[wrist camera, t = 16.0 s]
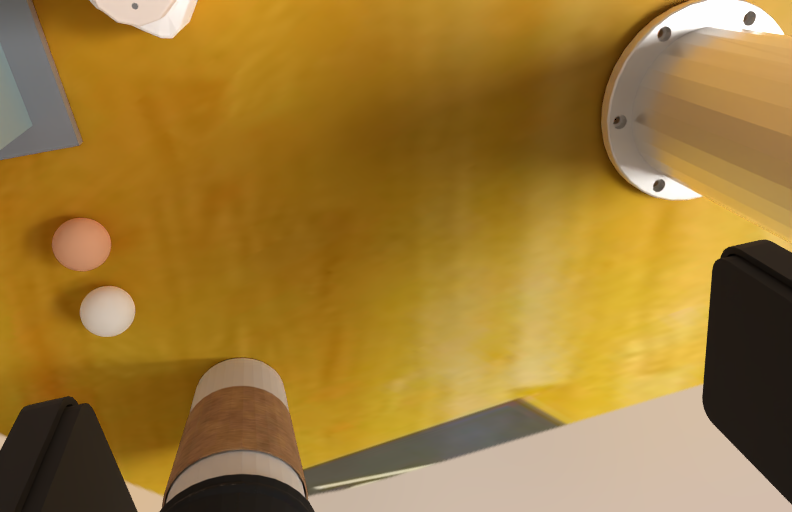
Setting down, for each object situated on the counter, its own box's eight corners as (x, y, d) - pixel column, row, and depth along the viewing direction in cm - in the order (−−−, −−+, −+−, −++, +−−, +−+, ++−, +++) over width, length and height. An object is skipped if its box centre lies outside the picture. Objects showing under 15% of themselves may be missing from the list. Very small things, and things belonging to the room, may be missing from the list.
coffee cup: (210, 321, 42) (188, 493, 29) (325, 368, 45) (354, 542, 32) (154, 420, 44) (109, 621, 31) (267, 458, 47) (272, 656, 34)
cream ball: (130, 272, 40) (121, 295, 37) (145, 314, 41) (137, 340, 38) (79, 283, 39) (66, 307, 37) (96, 325, 41) (84, 351, 38)
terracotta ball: (106, 205, 38) (94, 224, 35) (122, 252, 39) (112, 273, 36) (52, 215, 37) (36, 235, 35) (70, 262, 39) (57, 285, 36)
